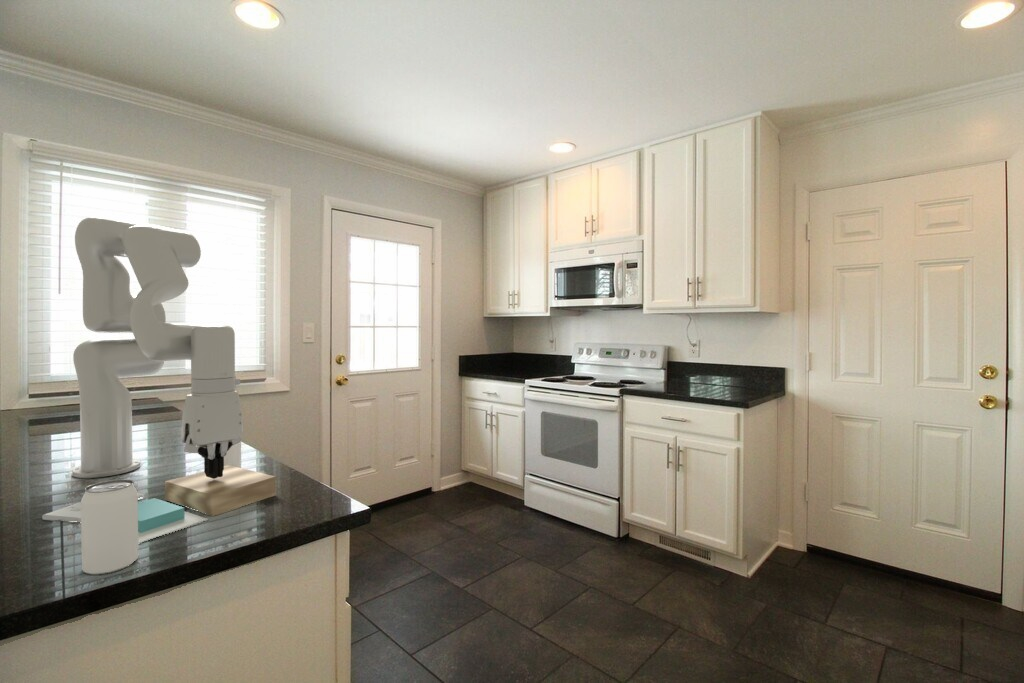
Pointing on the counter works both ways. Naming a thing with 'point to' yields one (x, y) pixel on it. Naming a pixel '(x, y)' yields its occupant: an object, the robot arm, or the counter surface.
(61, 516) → the external hard drive
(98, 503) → the can
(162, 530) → the mat
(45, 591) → the counter surface
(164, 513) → the teal sticky note pad
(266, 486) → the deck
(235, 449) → the white tall lump
